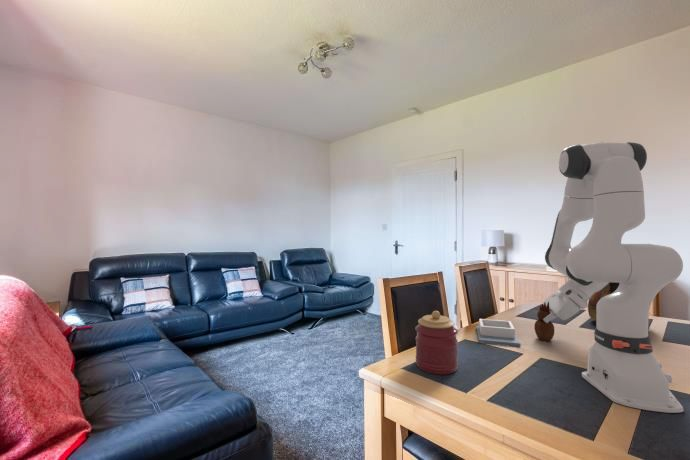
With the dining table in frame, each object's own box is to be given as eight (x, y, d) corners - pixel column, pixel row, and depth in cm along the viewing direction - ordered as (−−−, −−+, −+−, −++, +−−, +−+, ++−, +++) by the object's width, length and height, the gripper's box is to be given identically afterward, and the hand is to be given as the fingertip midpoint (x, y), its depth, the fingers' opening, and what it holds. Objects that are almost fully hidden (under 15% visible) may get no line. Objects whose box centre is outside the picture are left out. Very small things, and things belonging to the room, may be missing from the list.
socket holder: (520, 346, 118) (520, 333, 118) (479, 342, 123) (478, 330, 123) (512, 331, 135) (512, 320, 135) (476, 328, 140) (476, 317, 140)
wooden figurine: (557, 342, 122) (557, 302, 122) (542, 342, 122) (541, 302, 122) (546, 336, 128) (546, 298, 128) (532, 336, 129) (531, 298, 128)
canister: (465, 365, 103) (464, 310, 103) (445, 379, 94) (444, 319, 94) (429, 354, 112) (428, 304, 112) (407, 366, 103) (407, 311, 103)
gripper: (557, 284, 132) (530, 306, 136) (573, 294, 113) (542, 319, 116) (569, 295, 131) (542, 317, 134) (589, 307, 112) (556, 333, 115)
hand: (542, 318), depth 125 cm, fingers closed on wooden figurine, 5 cm apart
